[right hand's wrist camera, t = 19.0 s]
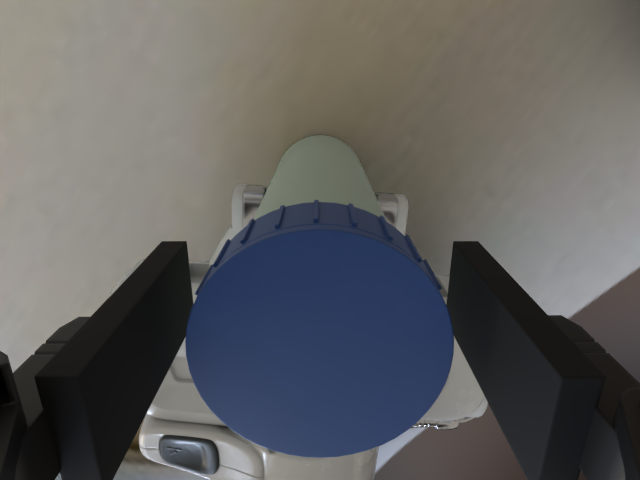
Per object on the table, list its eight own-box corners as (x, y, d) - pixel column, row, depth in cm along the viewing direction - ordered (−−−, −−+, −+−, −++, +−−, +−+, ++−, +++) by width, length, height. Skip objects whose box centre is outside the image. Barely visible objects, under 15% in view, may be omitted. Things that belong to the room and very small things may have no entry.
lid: (271, 151, 11) (259, 169, 9) (482, 270, 12) (515, 311, 10) (168, 345, 13) (139, 396, 11) (357, 432, 14) (364, 493, 12)
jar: (370, 142, 27) (454, 256, 10) (354, 225, 29) (402, 437, 12) (283, 128, 27) (219, 220, 10) (271, 212, 29) (202, 412, 12)
